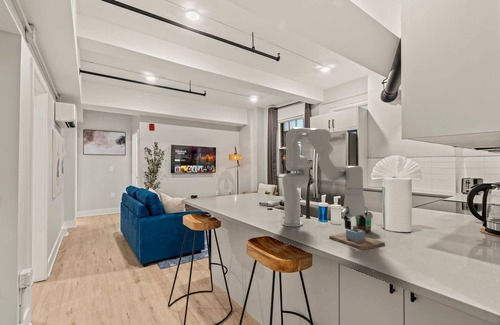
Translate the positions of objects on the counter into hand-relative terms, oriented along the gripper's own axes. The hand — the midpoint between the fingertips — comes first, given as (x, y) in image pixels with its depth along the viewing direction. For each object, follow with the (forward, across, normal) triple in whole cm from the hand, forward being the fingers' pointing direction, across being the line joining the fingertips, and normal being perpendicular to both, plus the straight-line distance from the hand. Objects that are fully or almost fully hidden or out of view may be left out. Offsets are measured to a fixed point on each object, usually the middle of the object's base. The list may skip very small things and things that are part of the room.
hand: (355, 227), depth 117 cm
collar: (+5, 0, 0) cm, 5 cm away
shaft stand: (+6, 0, 0) cm, 6 cm away
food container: (+7, -19, -9) cm, 22 cm away
